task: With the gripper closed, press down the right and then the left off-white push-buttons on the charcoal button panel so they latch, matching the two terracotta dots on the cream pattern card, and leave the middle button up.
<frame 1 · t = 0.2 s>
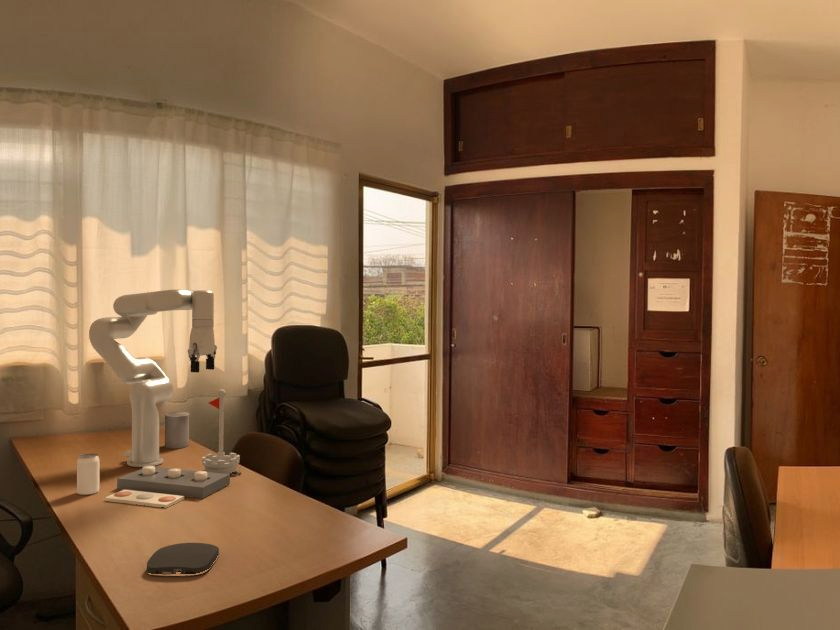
hand: (202, 370, 240), 36 cm above the table, tool pointing down, fingers open, 9 cm apart
left button: (148, 472, 221), point 4 cm above the table, slide at 0.0 cm
right button: (200, 477, 216), point 4 cm above the table, slide at 0.0 cm
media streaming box: (183, 566, 158), on the table
pattern card: (144, 500, 205), on the table
button panel: (174, 486, 219), on the table
middle button: (174, 474, 219), point 4 cm above the table, slide at 0.0 cm
pillar candle: (176, 446, 276), on the table
can: (88, 493, 211), on the table
flag stand: (220, 471, 239), on the table
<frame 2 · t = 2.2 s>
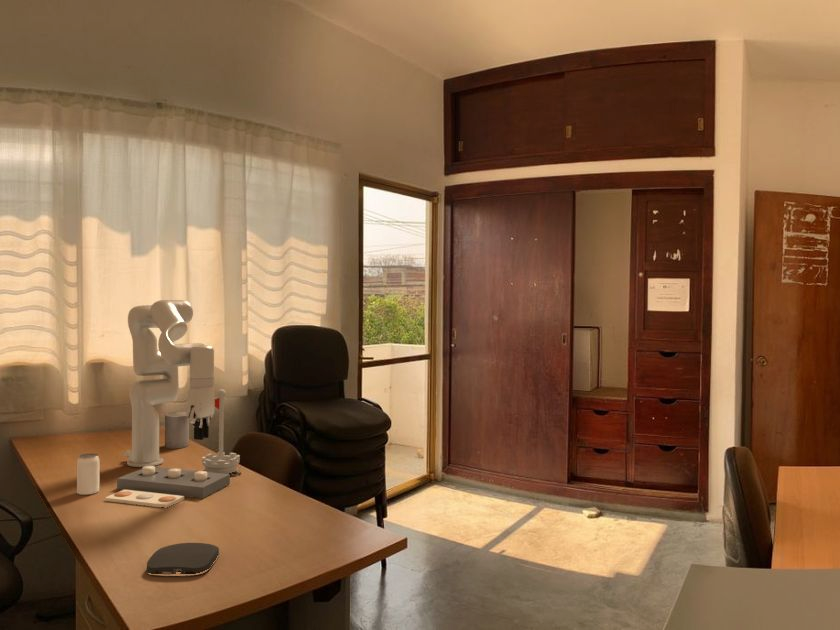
hand: (201, 438, 216), 17 cm above the table, tool pointing down, fingers closed
nothing on the table moved.
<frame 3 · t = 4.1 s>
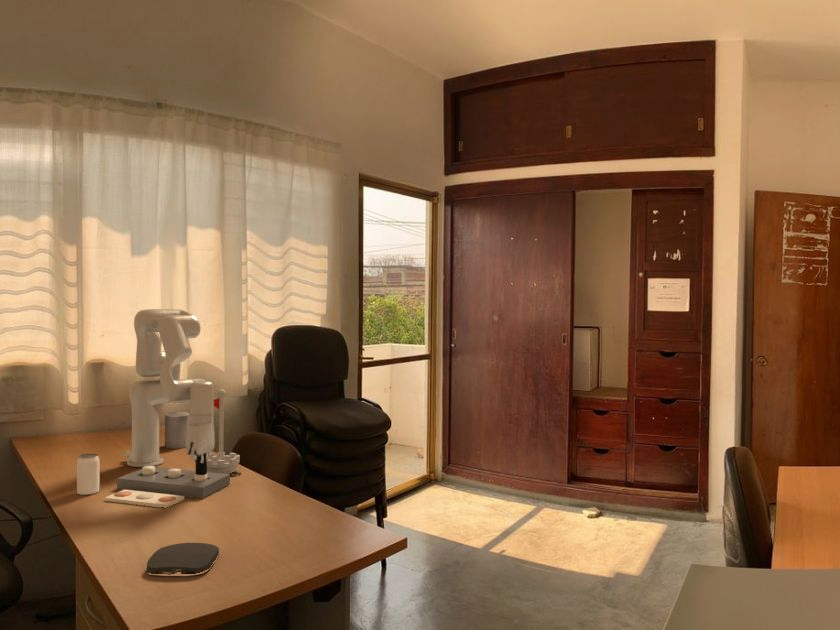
hand: (201, 474, 216), 5 cm above the table, tool pointing down, fingers closed
right button: (200, 478, 216), point 4 cm above the table, slide at 0.5 cm, touching gripper
everything else where it was.
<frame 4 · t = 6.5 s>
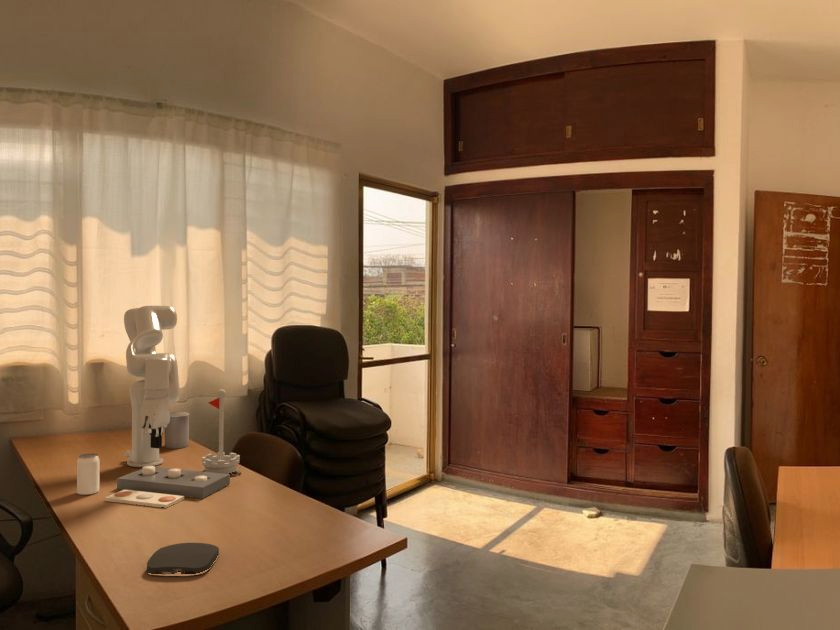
hand: (156, 447, 221), 13 cm above the table, tool pointing down, fingers closed
right button: (200, 482, 216), point 2 cm above the table, slide at 1.5 cm
everything else where it was.
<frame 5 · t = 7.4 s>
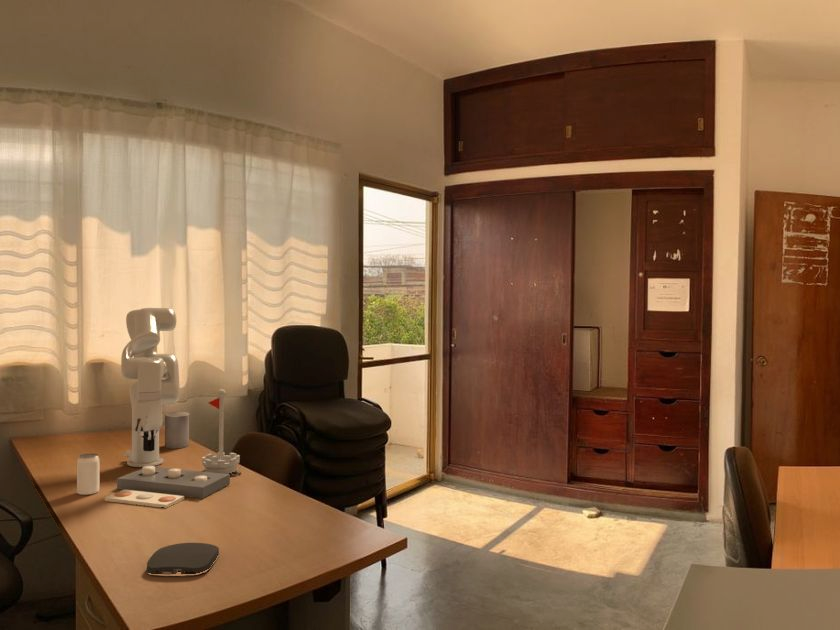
hand: (148, 450, 221), 11 cm above the table, tool pointing down, fingers closed
nothing on the table moved.
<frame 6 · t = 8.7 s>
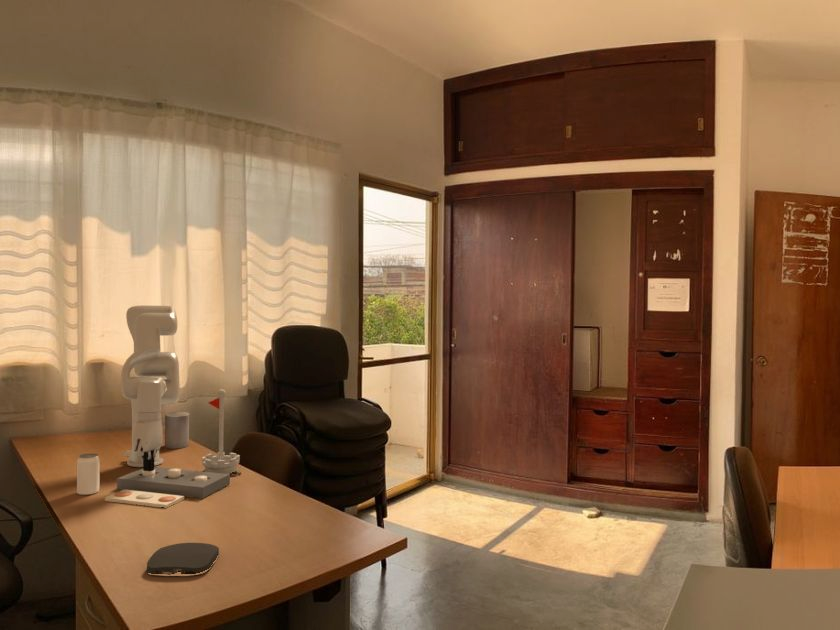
hand: (148, 470, 221), 5 cm above the table, tool pointing down, fingers closed
left button: (148, 474, 221), point 3 cm above the table, slide at 0.9 cm, touching gripper
everything else where it was.
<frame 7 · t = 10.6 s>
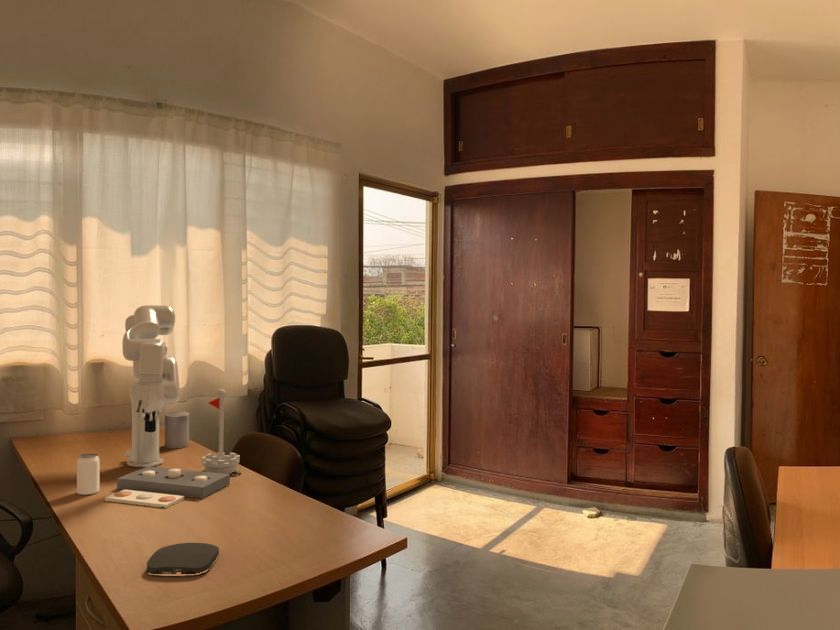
hand: (150, 431, 223), 17 cm above the table, tool pointing down, fingers closed
left button: (148, 476, 221), point 2 cm above the table, slide at 1.5 cm
everything else where it was.
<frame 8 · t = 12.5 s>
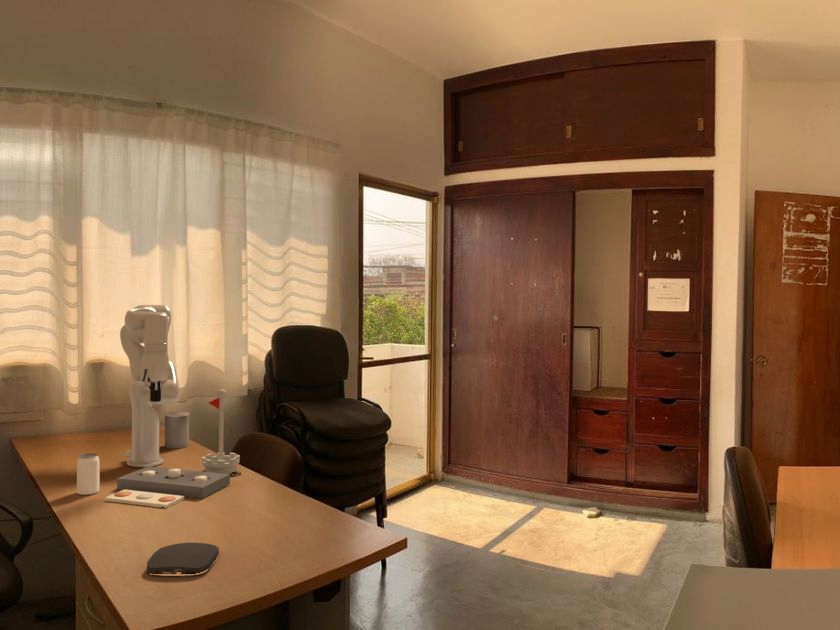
hand: (155, 401, 227), 27 cm above the table, tool pointing down, fingers closed
nothing on the table moved.
at the end: right button slide at 1.5 cm; left button slide at 1.5 cm; middle button slide at 0.0 cm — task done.
